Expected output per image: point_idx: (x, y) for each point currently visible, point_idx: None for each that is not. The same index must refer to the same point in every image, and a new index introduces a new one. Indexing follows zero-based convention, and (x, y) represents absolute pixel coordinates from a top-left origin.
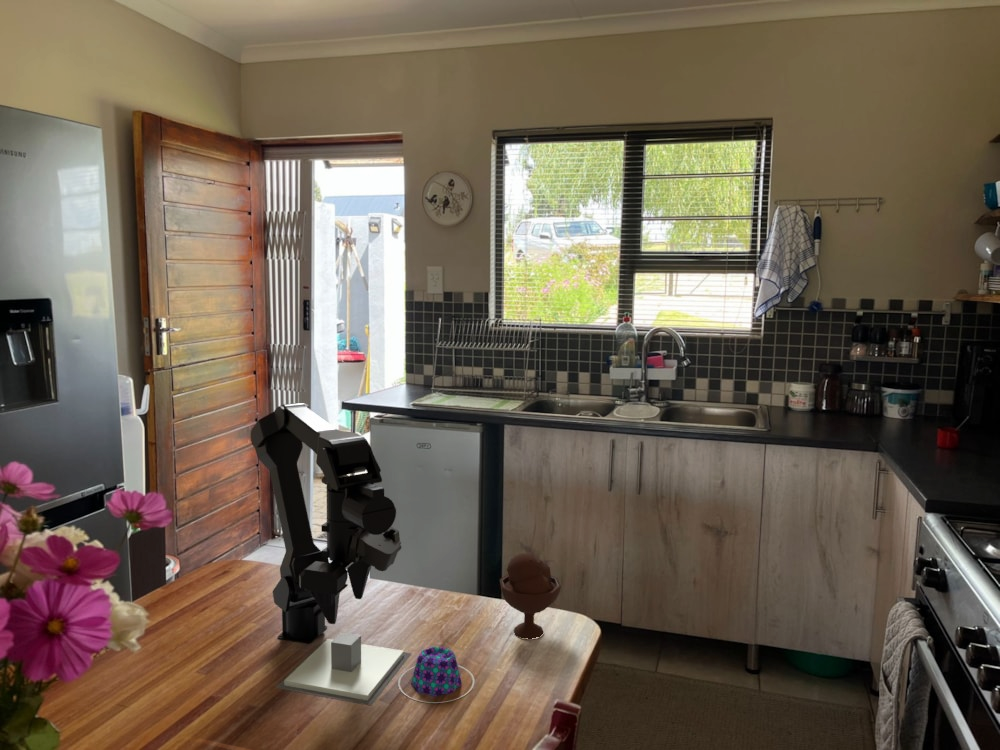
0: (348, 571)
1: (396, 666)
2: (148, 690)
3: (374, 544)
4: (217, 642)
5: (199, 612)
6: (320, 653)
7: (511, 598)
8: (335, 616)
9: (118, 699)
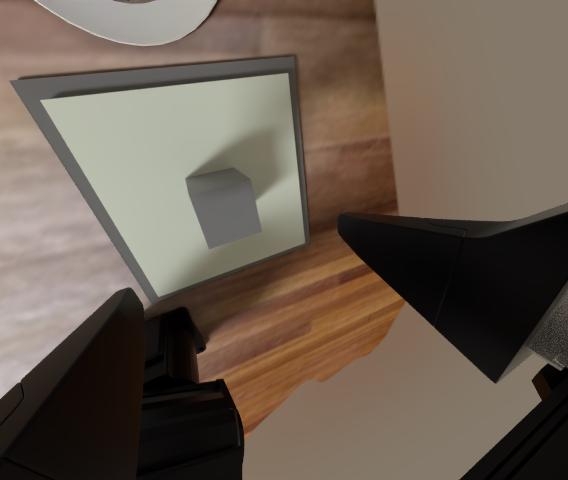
0: (134, 469)
1: (122, 87)
2: (348, 326)
3: None
4: (253, 373)
5: None
6: (212, 264)
7: None
8: (368, 215)
9: (363, 327)
